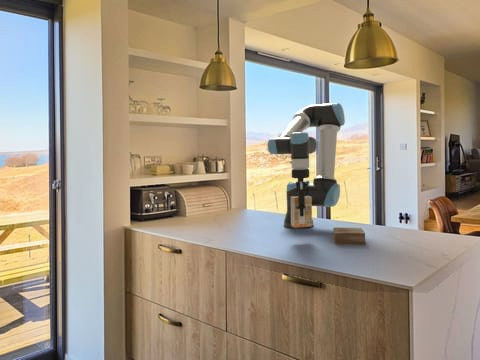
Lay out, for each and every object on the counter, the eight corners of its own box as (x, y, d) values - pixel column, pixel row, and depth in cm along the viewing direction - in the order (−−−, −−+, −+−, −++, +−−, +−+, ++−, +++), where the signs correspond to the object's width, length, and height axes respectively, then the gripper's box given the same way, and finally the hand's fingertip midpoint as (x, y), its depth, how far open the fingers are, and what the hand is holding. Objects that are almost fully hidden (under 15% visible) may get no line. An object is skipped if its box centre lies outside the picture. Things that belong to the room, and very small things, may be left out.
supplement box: (294, 228, 172) (293, 197, 171) (290, 226, 176) (290, 196, 175) (312, 226, 173) (312, 196, 172) (308, 224, 178) (308, 195, 177)
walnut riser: (333, 238, 180) (333, 227, 179) (361, 239, 178) (361, 227, 177) (335, 245, 168) (334, 233, 168) (365, 245, 166) (365, 233, 165)
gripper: (291, 167, 182) (292, 218, 184) (291, 170, 164) (293, 226, 166) (307, 167, 182) (308, 217, 184) (310, 169, 163) (311, 226, 165)
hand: (301, 221), depth 175 cm, fingers closed on supplement box, 6 cm apart
